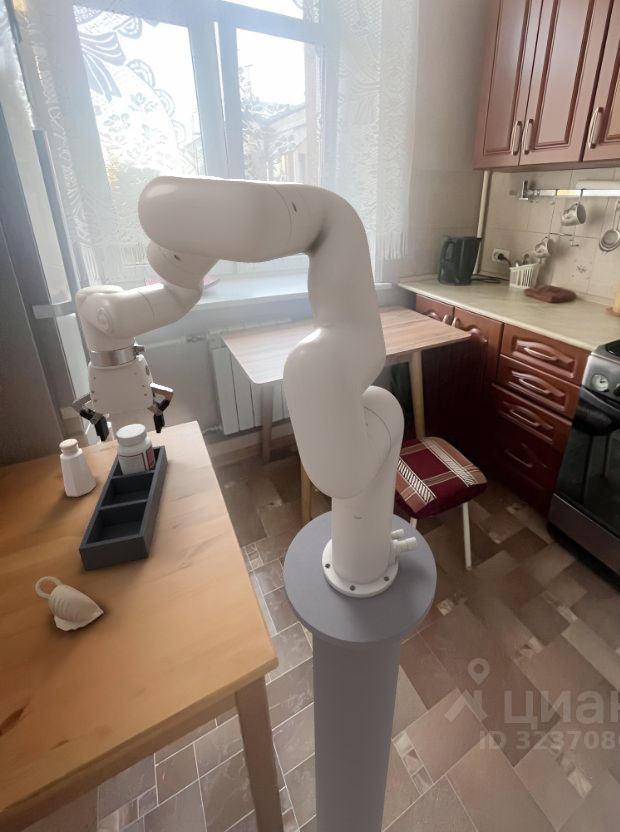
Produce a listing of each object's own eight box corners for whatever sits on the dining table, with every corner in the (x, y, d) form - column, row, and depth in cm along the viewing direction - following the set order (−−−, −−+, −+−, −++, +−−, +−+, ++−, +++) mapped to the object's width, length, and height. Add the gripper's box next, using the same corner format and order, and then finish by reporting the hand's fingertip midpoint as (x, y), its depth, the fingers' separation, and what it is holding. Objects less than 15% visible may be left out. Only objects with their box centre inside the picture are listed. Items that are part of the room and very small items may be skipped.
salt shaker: (86, 476, 83) (73, 431, 79) (103, 483, 81) (91, 438, 77) (58, 492, 78) (44, 445, 74) (75, 500, 76) (61, 453, 72)
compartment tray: (167, 462, 88) (164, 445, 86) (148, 557, 65) (143, 536, 63) (121, 469, 85) (117, 452, 83) (84, 570, 62) (78, 549, 61)
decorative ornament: (75, 640, 53) (65, 613, 51) (39, 612, 56) (28, 586, 54) (104, 613, 56) (96, 587, 54) (69, 588, 60) (60, 563, 58)
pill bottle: (146, 463, 86) (137, 419, 82) (163, 474, 83) (154, 428, 79) (118, 479, 81) (106, 432, 77) (134, 490, 78) (123, 443, 74)
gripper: (168, 342, 78) (181, 417, 84) (66, 351, 73) (88, 430, 79) (163, 356, 71) (178, 437, 77) (50, 367, 66) (76, 452, 72)
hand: (133, 433), depth 78 cm, fingers open, 9 cm apart
